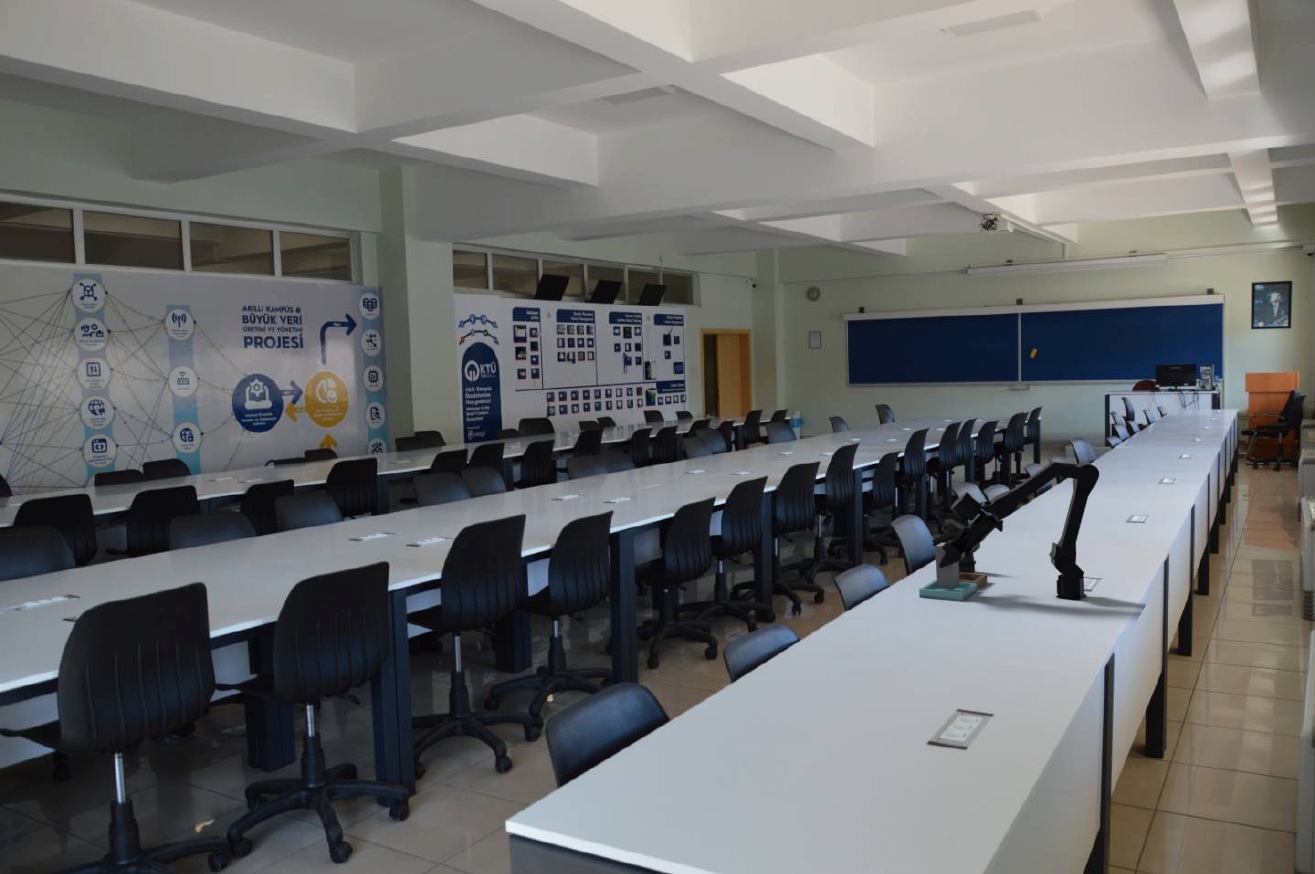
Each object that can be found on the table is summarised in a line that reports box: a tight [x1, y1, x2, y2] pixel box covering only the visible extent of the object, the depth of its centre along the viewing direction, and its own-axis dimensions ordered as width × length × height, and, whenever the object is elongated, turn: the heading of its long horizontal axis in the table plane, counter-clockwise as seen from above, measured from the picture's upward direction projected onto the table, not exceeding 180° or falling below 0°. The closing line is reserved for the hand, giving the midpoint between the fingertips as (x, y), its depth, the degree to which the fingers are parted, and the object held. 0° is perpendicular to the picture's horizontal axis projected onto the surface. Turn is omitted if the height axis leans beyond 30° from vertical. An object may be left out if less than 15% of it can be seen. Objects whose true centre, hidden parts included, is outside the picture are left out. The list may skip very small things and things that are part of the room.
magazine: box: [931, 532, 977, 574], centre depth 324 cm, size 4×13×15 cm, turn 60°
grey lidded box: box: [934, 543, 960, 590], centre depth 293 cm, size 5×6×13 cm
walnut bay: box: [959, 572, 988, 590], centre depth 304 cm, size 11×12×8 cm
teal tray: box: [918, 579, 978, 602], centre depth 294 cm, size 13×14×2 cm
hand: (942, 565), depth 294 cm, fingers closed on grey lidded box, 5 cm apart
